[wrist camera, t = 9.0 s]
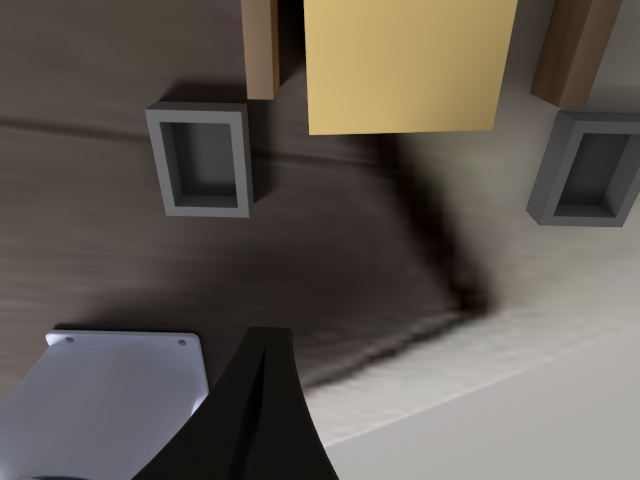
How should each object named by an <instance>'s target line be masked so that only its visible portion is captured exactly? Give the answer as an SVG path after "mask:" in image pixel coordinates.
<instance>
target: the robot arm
mask: <svg viewBox="0 0 640 480" xmlns="http://www.w3.org/2000/svg"><path fill="white" fill-rule="evenodd" d="M292 336H293V331H292V330H291V329H289V328H269V327H250V328H249V329H247V332H246V334H245V336H244V338H243V340H242V342H241V344H240V346H239V347H238V349H237V351H236V353H235V354H234V356H233V358H232V359H231V361H230V363H229V364H228V366H227V367H226V369H225V370H224V372H223V373H222V375H221V377H220V378H219V380H218V381H217V382H216V384H215V385H214V387H213V388H212V389H211V391H210V392H209V388H208V382H207V377H206V372H205V366H204V361H203V355H202V350H201V345H200V339H199V337H198V336H197V335H195V334H192V333H161V332H121V331H81V330H51V331H49V333H48V334H47V335H46V340H47V342H48V344H49V347H48V348H47V350H46V351H45V352H44V354H43V355H42V356H41V357H40V359H39V360H38V361H37V362H36V364H35V365H34V366H33V368H32V369H31V370H30V371H29V373H28V374H27V375H26V377H25V378H24V379H23V380H22V382H21V383H20V384H19V385H18V387H17V388H16V389H15V391H14V392H13V393H12V394H11V396H10V397H9V398H8V400H7V401H6V402H5V403H4V405H3V406H2V407H1V408H0V480H339V478H338V476H337V475H336V472H335V470H334V468H333V466H332V464H331V462H330V460H329V458H328V457H327V454H326V452H325V450H324V448H323V445H322V443H321V441H320V439H319V436H318V434H317V431H316V429H315V426H314V424H313V421H312V419H311V416H310V413H309V410H308V407H307V404H306V401H305V398H304V395H303V392H302V389H301V385H300V381H299V377H298V373H297V369H296V365H295V359H294V353H293V345H292ZM182 340H184V341H182Z"/></svg>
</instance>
